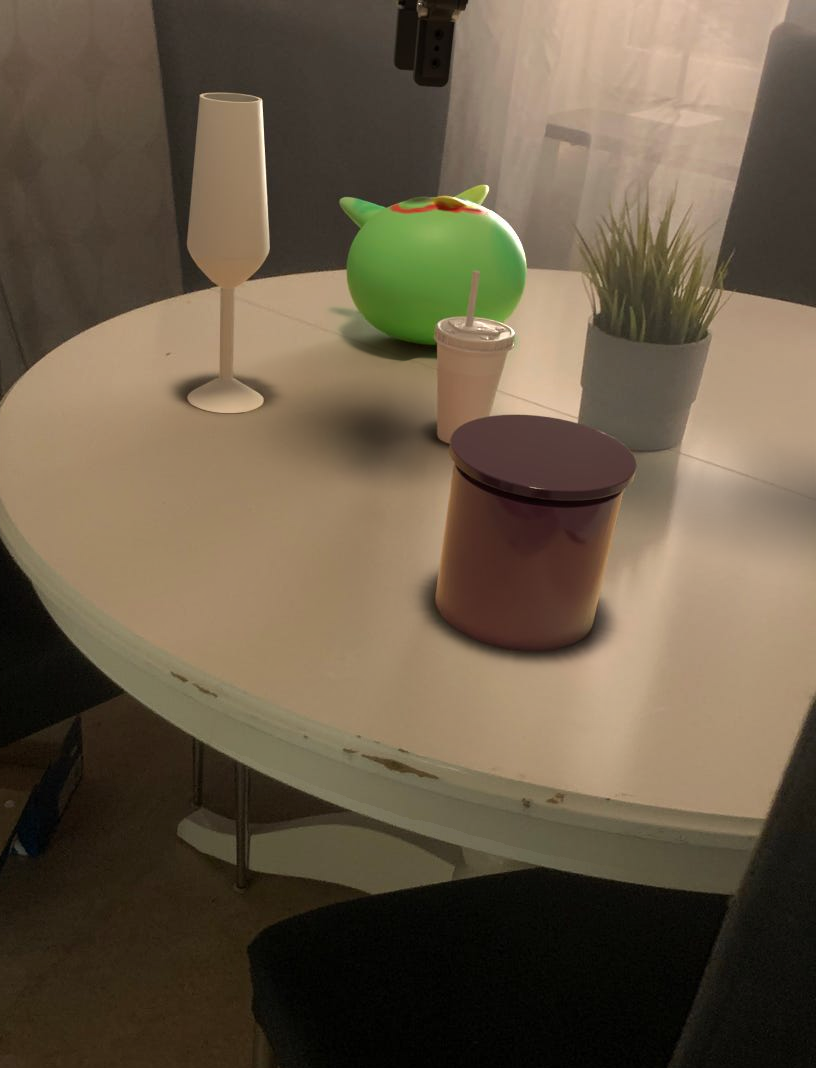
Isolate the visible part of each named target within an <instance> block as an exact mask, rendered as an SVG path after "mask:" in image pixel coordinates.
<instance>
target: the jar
mask: <svg viewBox="0 0 816 1068" xmlns="http://www.w3.org/2000/svg"><path fill="white" fill-rule="evenodd" d="M448 447H449V448H448V451H449V452H448V453H449V457H450V458H451V460H452V462H453V468H452V473H451V474H452V475H451V482H450V488H449V495H448V502H447V510H446V517H445V523H444V524H445V526H444V532H443V540H442V545H441V546H442V547H441V552H440V560H439V568H438V576H437V582H436V589H435V596H434V597H435V598H434V599H435V605H436V608H437V610H438V612H439V613H440V615H441V616H442V617H443V619H444V620H445V621H446V622H447V623H448V624H450V626H452V628H453V627H454V628H455V629H456V630H457V631H459V632H461V633H463V634H464V635H466V636H468V637H471V638H473V639H475V640H478V641H480V642H482V643H485V644H489V645H492V646H495V647H501V648H505V649H512V650H516V651H517V650H519V651H520V650H521V651H547V650H549V651H550V650H555V649H560V648H564V647H567V646H570V645H572V644H575V643H578V642H579V641H580V640H582V639H583V638H584V637H586V636H587V635H588V634H589V633H590V631H591V630H592V628H593V625H594V621H595V616H596V613H597V608H598V603H599V599H600V596H601V591H602V586H603V582H604V579H605V574H606V569H607V566H608V561H609V556H610V552H611V548H612V545H613V544H612V543H613V540H614V539H613V538H614V535H615V530H616V526H617V522H618V518H619V514H620V510H621V505H622V501H623V496H624V492H625V490H626V489H627V488H628V487H629V486H630V485H631V484H632V483H633V481H634V479H635V477H636V473H637V467H638V466H637V465H638V464H637V458H636V457H635V456H634V453H633V452H632V451H631V449H629V448H628V447H627V445H625V444H624V443H622V442H621V441H619V440H618V439H616V438H615V437H613V436H611V435H609V434H607V433H605V432H603V431H601V430H598V429H596V428H594V427H591V426H587V425H584V424H582V423H578V422H575V421H572V420H571V421H570V420H567V419H561V418H556V417H551V416H544V415H543V416H542V415H533V414H499V415H497V414H496V415H490V416H489V417H483V418H479V419H475V420H472V421H469V422H467V423H465V424H463V425H461V426H460V427H458V428H457V429H456V430H455V431H454V432H453V434H452V436H451V439H450V444H449V446H448Z"/></svg>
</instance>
